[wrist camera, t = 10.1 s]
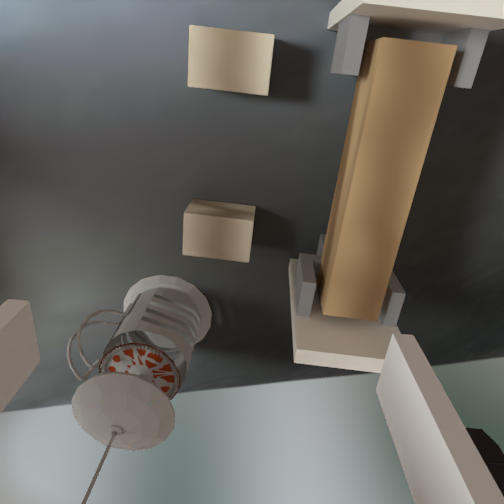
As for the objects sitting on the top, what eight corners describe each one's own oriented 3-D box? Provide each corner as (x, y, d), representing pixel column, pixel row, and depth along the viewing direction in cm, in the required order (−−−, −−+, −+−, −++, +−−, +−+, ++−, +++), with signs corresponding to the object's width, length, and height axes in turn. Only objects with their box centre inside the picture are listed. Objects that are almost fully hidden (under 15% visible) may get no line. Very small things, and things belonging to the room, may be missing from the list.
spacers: (191, 237, 39) (182, 254, 35) (199, 29, 31) (189, 24, 28) (251, 244, 39) (248, 262, 35) (274, 38, 31) (274, 34, 27)
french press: (177, 364, 46) (81, 652, 23) (92, 307, 43) (-111, 570, 20) (230, 311, 42) (177, 591, 20) (141, 246, 40) (-39, 483, 17)
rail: (316, 281, 33) (323, 314, 29) (364, 42, 26) (383, 36, 21) (363, 286, 33) (377, 321, 29) (425, 49, 26) (457, 45, 21)
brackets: (288, 268, 40) (294, 362, 27) (330, 11, 30) (369, -29, 17) (367, 278, 40) (409, 376, 27) (434, 23, 30) (548, -9, 17)
